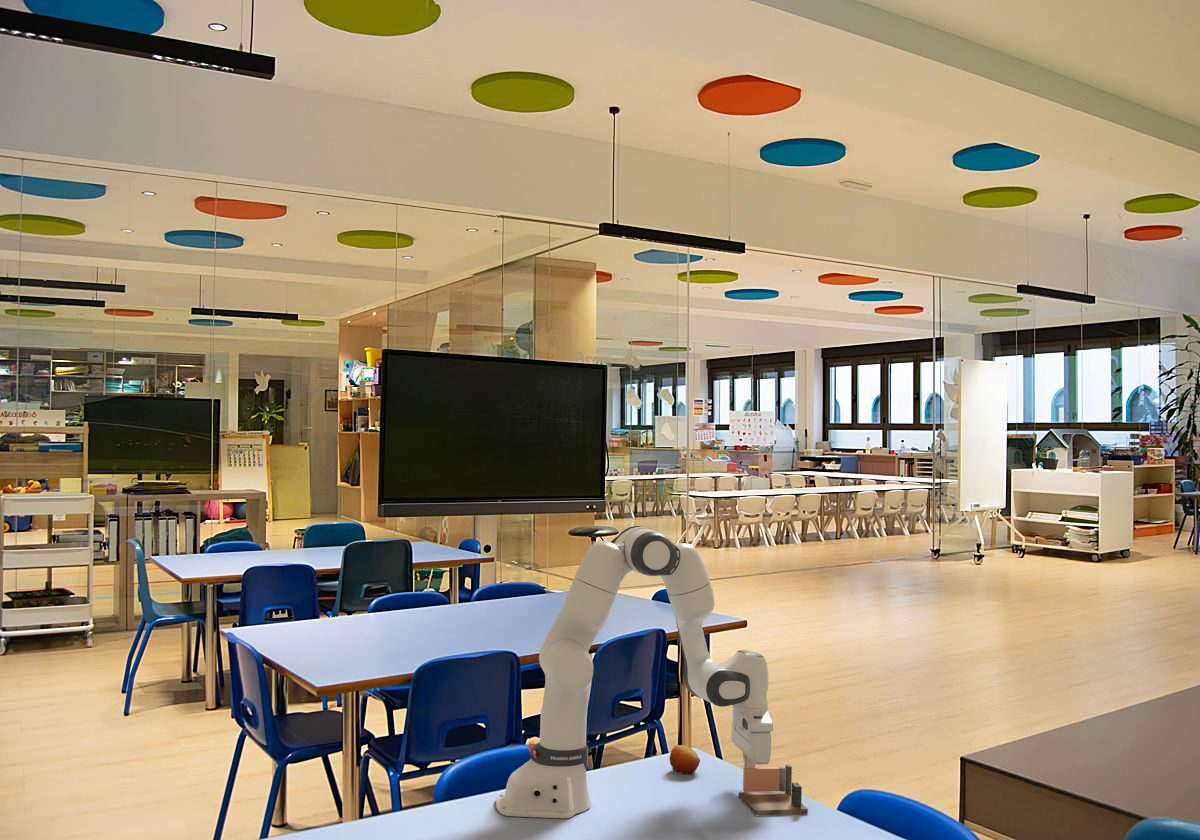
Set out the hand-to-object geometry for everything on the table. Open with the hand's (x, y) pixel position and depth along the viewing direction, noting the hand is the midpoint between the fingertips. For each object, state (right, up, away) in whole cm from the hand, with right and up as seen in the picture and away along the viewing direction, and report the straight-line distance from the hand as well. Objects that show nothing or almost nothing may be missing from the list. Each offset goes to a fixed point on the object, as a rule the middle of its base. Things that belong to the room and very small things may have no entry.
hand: (749, 771), depth 241 cm
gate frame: (+4, -5, -9) cm, 11 cm away
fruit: (-15, -6, +14) cm, 22 cm away
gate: (+3, -3, -5) cm, 6 cm away
